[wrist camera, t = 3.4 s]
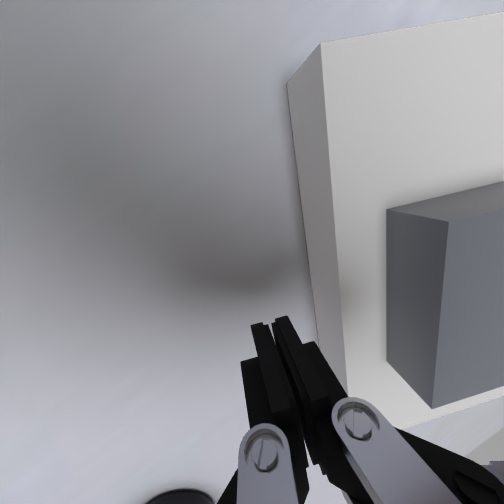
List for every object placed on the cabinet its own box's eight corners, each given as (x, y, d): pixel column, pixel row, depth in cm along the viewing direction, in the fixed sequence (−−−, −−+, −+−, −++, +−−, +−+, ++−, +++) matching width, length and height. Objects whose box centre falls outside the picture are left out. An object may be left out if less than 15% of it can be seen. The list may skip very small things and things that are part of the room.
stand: (286, 84, 12) (320, 42, 8) (524, 40, 13) (649, -14, 9) (325, 393, 19) (352, 445, 16) (475, 347, 21) (533, 386, 17)
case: (386, 209, 11) (448, 221, 8) (502, 181, 11) (600, 183, 8) (386, 360, 14) (431, 409, 11) (477, 333, 14) (543, 372, 11)
